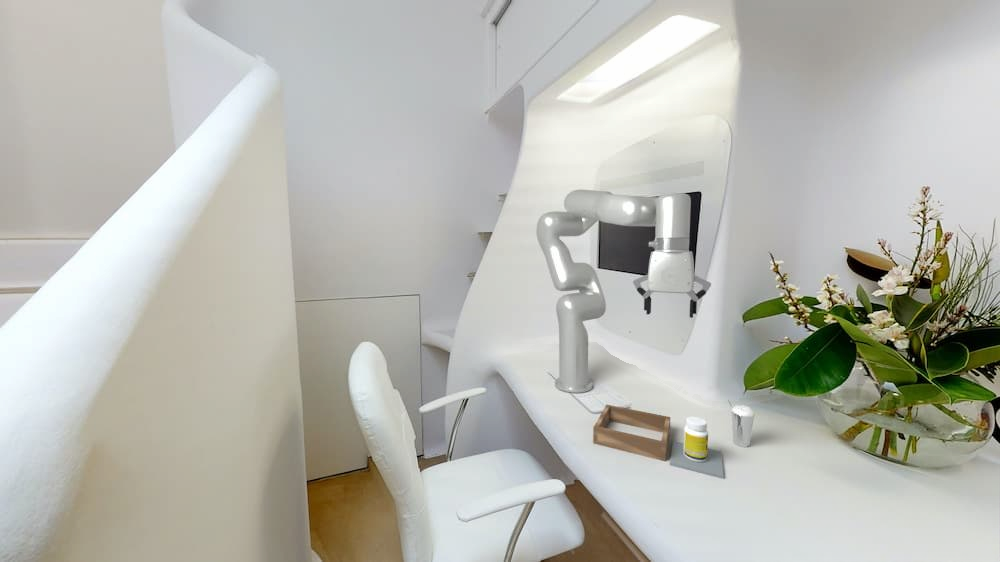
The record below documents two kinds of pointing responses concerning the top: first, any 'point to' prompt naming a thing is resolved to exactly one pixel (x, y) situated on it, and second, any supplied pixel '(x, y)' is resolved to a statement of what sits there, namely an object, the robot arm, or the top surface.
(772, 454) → the top surface
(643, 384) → the top surface
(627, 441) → the walnut box
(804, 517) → the top surface
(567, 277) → the robot arm
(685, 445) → the supplement bottle
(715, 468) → the slate mat
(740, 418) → the milkshake
